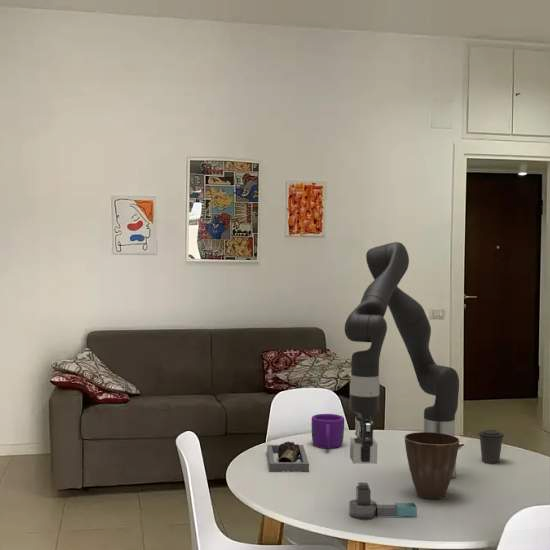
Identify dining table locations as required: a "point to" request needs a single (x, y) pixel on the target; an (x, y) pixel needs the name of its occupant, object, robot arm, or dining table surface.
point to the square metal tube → (356, 451)
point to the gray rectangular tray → (287, 465)
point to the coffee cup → (490, 446)
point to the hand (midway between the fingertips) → (363, 458)
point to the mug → (327, 430)
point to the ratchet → (376, 506)
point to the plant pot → (431, 462)
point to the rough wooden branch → (288, 452)
